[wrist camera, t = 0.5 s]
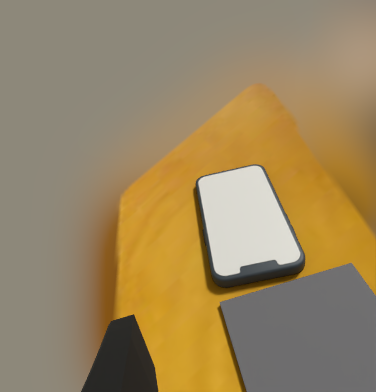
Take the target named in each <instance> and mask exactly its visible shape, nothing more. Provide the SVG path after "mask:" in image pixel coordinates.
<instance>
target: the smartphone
mask: <svg viewBox="0 0 376 392" xmlns="http://www.w3.org/2000/svg"><path fill="white" fill-rule="evenodd" d="M196 189H197V195H198V201H199V206H200V212H201V218H202V224H203V235H204V241H205V245H206V246H207V252H208V258H209V264H210V269H211V274H212V278H213V281H214V282H215V283H216V284H217V285H218V286H220V287H225V288H227V287H233V286H238V285H243V284H248V283H253V282H258V281H263V280H268V279H273V278H278V277H283V276H288V275H293V274H297V273H299V272H301V271H302V270H303V268H304V266H305V254H304V252H303V250H302V248H301V245H300V243H299V241H298V239H297V237H296V234H295V231H294V229H293V227H292V225H291V224H290V221H289V219H288V216H287V214H286V213H285V211H284V209H283V207H282V205H281V203H280V201H279V198H278V196H277V194H276V192H275V190H274V188H273V186H272V183H271V181H270V179H269V177H268V175H267V173H266V171H265V169H264V167H263V166H261V165H249V166H245V167H240V168H236V169H231V170H227V171H222V172H218V173H213V174H209V175H205V176H202V177H200V178H198V179H197V181H196Z"/></svg>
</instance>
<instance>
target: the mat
mask: <svg viewBox="0 0 376 392" xmlns="http://www.w3.org/2000/svg"><path fill="white" fill-rule="evenodd" d="M220 305H221V309H222V312H223V315H224V318H225V322H226V325H227V328H228V332H229V335H230V338H231V341H232V345H233V348H234V351H235V355H236V358H237V361H238V365H239V368H240V371H241V374H242V378H243V381H244V384H245V388H246V391H247V392H376V296H375V294H374V293H373V292H372V290H371V289H370V288H369V286H368V285H367V283H366V282H365V281H364V279H363V278H362V277H361V275H360V274H359V272H358V271H357V270H356V268H355V267H354V266H353V264H352V263H349V264H346V265H343V266H339V267H336V268H333V269H329V270H326V271H323V272H319V273H316V274H313V275H309V276H306V277H303V278H299V279H296V280H293V281H289V282H286V283H283V284H279V285H276V286H273V287H269V288H266V289H263V290H259V291H256V292H253V293H249V294H246V295H242V296H239V297H236V298H232V299H229V300H226V301H222V302H220Z"/></svg>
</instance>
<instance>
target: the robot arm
mask: <svg viewBox="0 0 376 392" xmlns="http://www.w3.org/2000/svg"><path fill="white" fill-rule="evenodd" d="M81 392H158V386H157V379H156V372H155V367H154V364H153V361H152V359H151V356H150V354H149V351H148V349H147V346H146V344H145V341H144V339H143V336H142V334H141V331H140V329H139V326H138V324H137V321H136V319H135V316H134V314H133V315H130V316H127V317H123V318H120V319H117V320H113V321H111V323H110V324H109V326H108V328H107V331H106V333H105V336H104V339H103V341H102V344H101V347H100V349H99V351H98V354H97V356H96V358H95V361H94V363H93V366H92V368H91V371H90V373H89V375H88V377H87V380H86V382H85V384H84V386H83V389H82V391H81Z"/></svg>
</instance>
